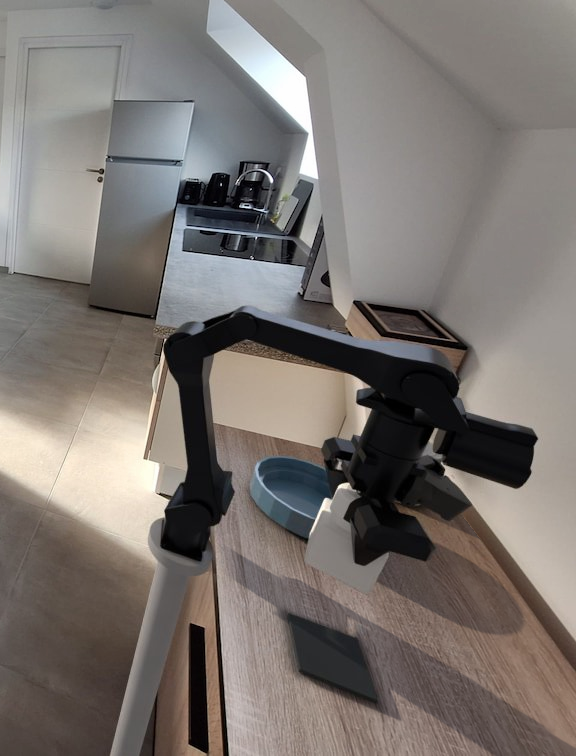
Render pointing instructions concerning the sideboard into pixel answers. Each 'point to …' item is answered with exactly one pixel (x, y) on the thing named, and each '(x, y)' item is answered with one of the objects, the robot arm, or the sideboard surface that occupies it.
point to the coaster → (330, 657)
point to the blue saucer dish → (290, 491)
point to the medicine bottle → (341, 542)
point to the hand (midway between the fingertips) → (348, 539)
